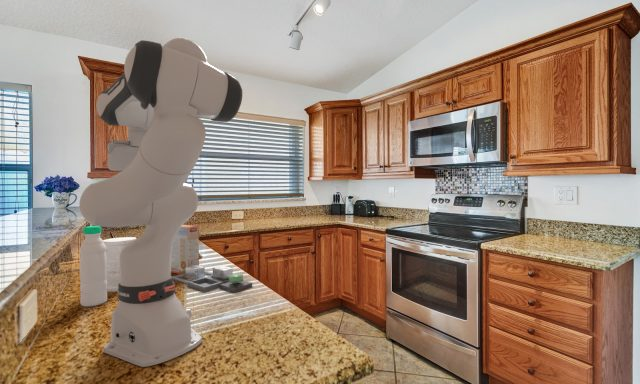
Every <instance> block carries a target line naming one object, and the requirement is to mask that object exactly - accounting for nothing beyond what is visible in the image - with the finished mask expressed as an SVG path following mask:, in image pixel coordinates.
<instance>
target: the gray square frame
mask: <svg viewBox="0 0 640 384" xmlns="http://www.w3.org/2000/svg"><path fill="white" fill-rule="evenodd" d="M205 275H207V276H211V275H213V272H210V271H206V270H205ZM184 277H186V273H185V274H177V275H173V276H172V278H173V281H174V280H175V281H177V282H178V281H179V282H180V283H184V284H186V285H187V282H189V280H186V279H184Z"/></svg>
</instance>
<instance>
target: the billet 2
mask: <svg viewBox="0 0 640 384" xmlns="http://www.w3.org/2000/svg"><path fill="white" fill-rule="evenodd" d="M233 272H234V271H233V267H228V266H225V265H218V266H214V267H212V273H213V278H214V279H218V280H221V281H225V280H229V275H232V274H234V273H233Z"/></svg>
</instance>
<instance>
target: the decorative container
mask: <svg viewBox="0 0 640 384" xmlns="http://www.w3.org/2000/svg"><path fill="white" fill-rule="evenodd" d="M136 239H137V237H135V236H123V237H121V236H120V237H113V238H112V237H110V238H106V239H102V240H103V243H104V244H105V246H106V251H105V253H106V267H107V271H106V281H107V289H106V290H107V293H113V292H115V293H116V292H117V293H118V284H119V283H120V254H121V251H122V250H123V248H124V247H125V246H126V245H128V244H129V243H131V242H132V241H134V240H136Z"/></svg>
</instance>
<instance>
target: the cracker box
mask: <svg viewBox="0 0 640 384" xmlns="http://www.w3.org/2000/svg"><path fill="white" fill-rule="evenodd" d="M199 234H200V233H199V225H189V224H183V225H182V226H181V228H180V229H179V231H178V233H177V234H176V237H175V239H174V242H173V245H172V252H171V274H172V273H173V274H177V275H181V274H185V273H186V266H191V265H198V266H200V237H199V236H200V235H199Z"/></svg>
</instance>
